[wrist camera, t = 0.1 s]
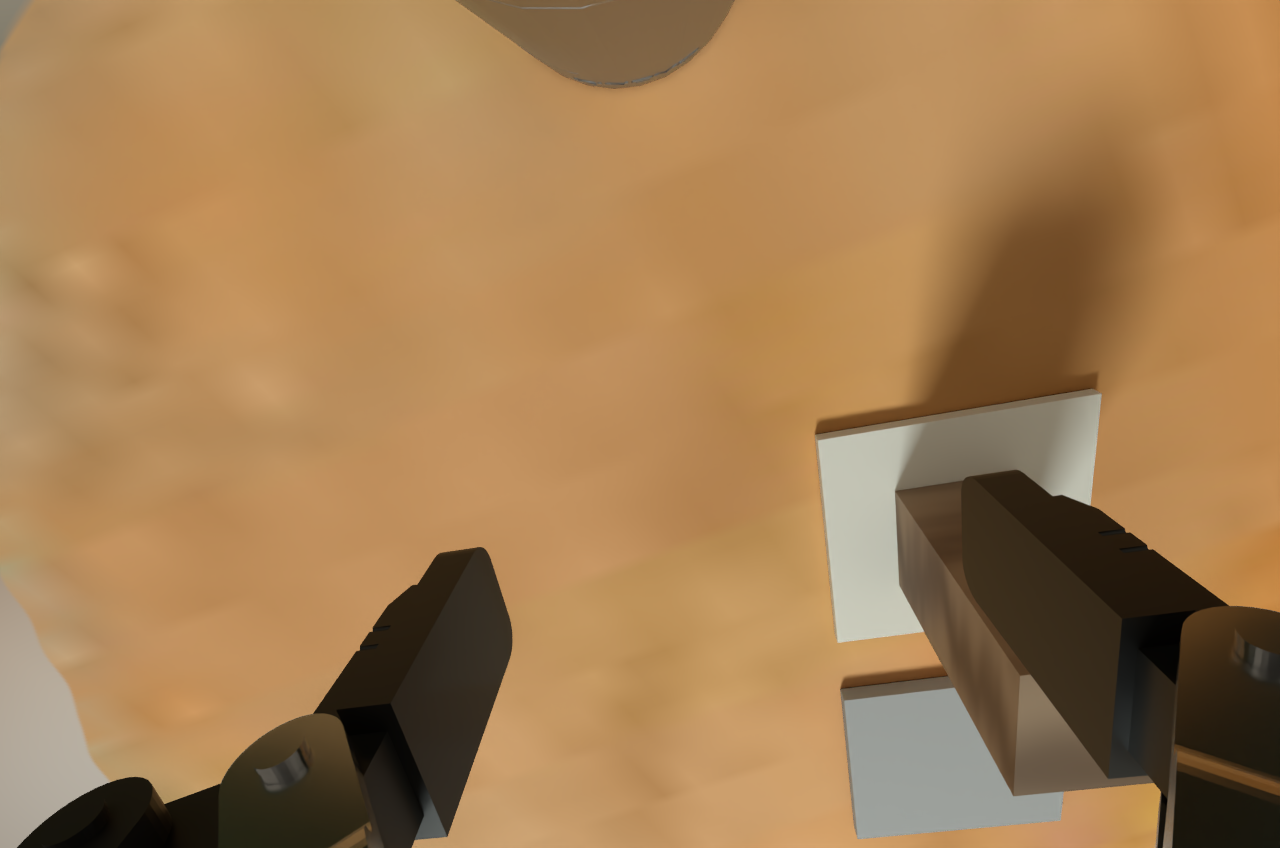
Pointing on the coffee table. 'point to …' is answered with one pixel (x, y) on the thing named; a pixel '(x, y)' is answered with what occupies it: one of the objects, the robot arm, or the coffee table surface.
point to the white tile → (929, 455)
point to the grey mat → (926, 764)
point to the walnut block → (985, 654)
